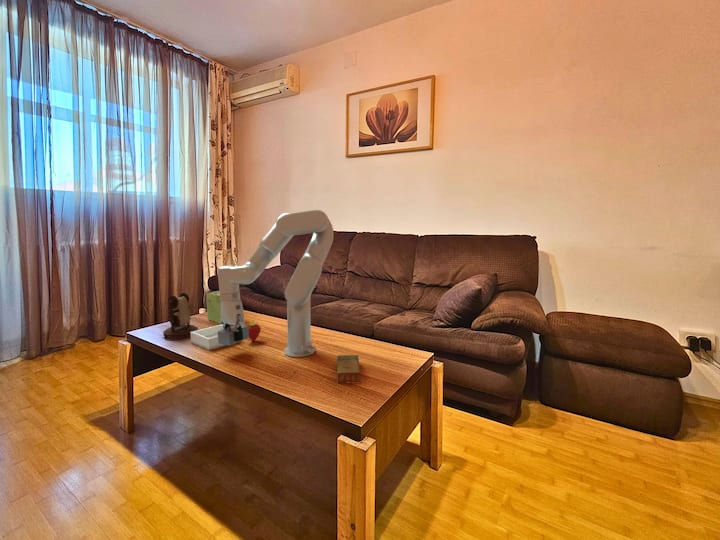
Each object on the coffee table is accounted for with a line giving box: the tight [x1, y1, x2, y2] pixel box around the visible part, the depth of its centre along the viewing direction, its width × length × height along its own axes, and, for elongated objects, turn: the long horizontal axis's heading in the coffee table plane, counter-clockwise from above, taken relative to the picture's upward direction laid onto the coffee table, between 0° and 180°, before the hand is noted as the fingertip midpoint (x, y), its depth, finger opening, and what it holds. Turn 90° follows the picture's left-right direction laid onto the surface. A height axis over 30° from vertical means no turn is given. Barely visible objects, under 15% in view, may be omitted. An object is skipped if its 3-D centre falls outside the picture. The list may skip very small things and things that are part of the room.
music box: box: [163, 292, 199, 340], centre depth 164 cm, size 15×15×20 cm
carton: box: [336, 354, 362, 384], centre depth 126 cm, size 8×16×4 cm, turn 4°
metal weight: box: [218, 325, 250, 347], centre depth 141 cm, size 6×10×5 cm, turn 151°
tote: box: [190, 323, 227, 351], centre depth 156 cm, size 15×15×5 cm
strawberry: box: [246, 320, 262, 342], centre depth 157 cm, size 6×8×10 cm
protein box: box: [206, 290, 222, 324], centre depth 190 cm, size 10×15×16 cm
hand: (233, 338), depth 141 cm, fingers closed on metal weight, 7 cm apart
